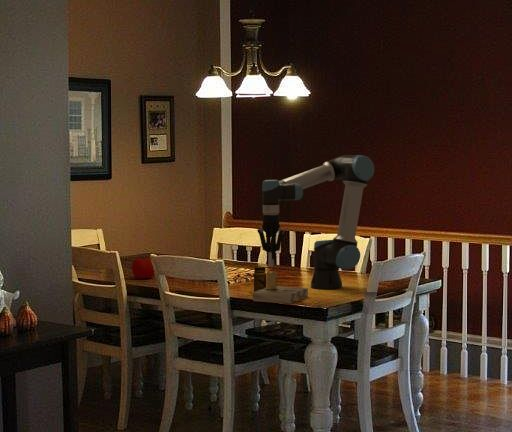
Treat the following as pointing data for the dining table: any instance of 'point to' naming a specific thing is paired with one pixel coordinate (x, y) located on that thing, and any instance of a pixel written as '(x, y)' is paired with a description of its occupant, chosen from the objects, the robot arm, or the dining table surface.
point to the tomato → (142, 268)
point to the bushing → (271, 281)
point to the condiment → (259, 278)
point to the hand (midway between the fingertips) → (271, 266)
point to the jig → (280, 295)
